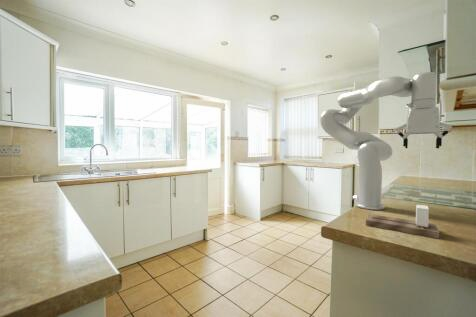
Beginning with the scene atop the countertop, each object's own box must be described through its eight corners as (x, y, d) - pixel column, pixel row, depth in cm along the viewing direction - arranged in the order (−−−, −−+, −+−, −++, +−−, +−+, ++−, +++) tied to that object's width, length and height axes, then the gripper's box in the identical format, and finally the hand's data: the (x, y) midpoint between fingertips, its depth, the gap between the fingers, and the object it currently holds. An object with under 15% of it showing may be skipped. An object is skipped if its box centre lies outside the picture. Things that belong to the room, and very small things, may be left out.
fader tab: (416, 225, 74) (416, 207, 74) (415, 221, 78) (416, 204, 78) (428, 227, 72) (428, 209, 72) (426, 223, 76) (427, 205, 76)
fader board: (365, 225, 81) (366, 219, 81) (369, 218, 88) (369, 213, 88) (438, 238, 69) (439, 232, 69) (435, 230, 76) (435, 224, 76)
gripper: (396, 106, 90) (394, 148, 91) (454, 100, 79) (452, 148, 80) (396, 109, 96) (395, 148, 97) (451, 104, 85) (449, 148, 86)
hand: (421, 148), depth 88 cm, fingers open, 9 cm apart
